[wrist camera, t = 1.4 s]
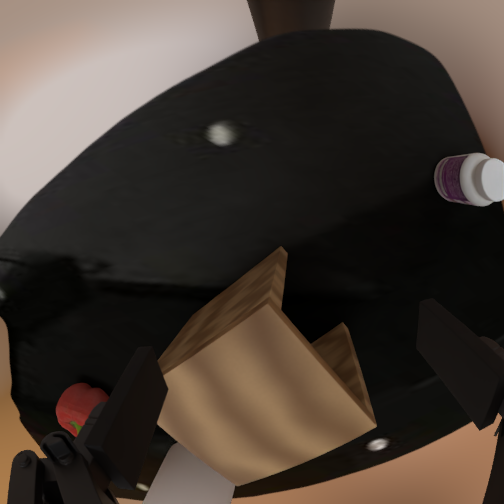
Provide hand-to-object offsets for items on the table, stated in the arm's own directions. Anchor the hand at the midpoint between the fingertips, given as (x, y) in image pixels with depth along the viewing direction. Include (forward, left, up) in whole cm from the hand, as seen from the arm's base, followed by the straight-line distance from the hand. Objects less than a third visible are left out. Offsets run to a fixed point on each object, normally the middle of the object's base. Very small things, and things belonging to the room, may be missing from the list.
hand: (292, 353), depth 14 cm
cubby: (+9, 0, -21) cm, 23 cm away
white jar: (+39, -3, -22) cm, 45 cm away
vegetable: (+34, -23, -22) cm, 47 cm away
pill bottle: (-14, +16, -22) cm, 30 cm away
